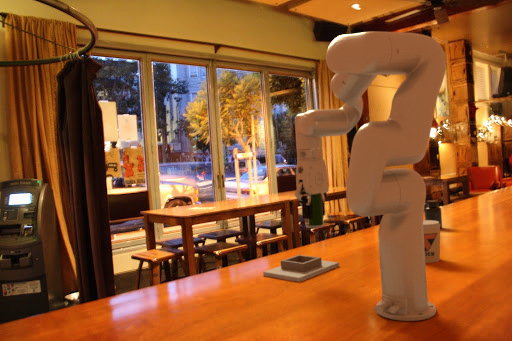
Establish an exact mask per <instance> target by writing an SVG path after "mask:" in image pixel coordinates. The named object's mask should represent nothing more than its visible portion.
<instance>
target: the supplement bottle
mask: <svg viewBox="0 0 512 341" xmlns="http://www.w3.org/2000/svg"><path fill="white" fill-rule="evenodd" d="M425 205H426V206H425V207H424V220H433V221H438V222H439V224H440V230H441V229H442V228H443V218H442V216H443V215H442V208H441V207H440V203H439V200H433V199H432V200H425Z"/></svg>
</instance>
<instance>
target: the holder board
mask: <svg viewBox="0 0 512 341" xmlns="http://www.w3.org/2000/svg"><path fill="white" fill-rule="evenodd" d="M339 266H340V263H339V262H336V261H329V260H322V257H318V256H313V255H304V254H297V255H294V256H291V257H287V258H284V259H282V260H280V265H279V266H277V267H273V268H271V269H268V270H264V271H262V272H263V274H262V275H263V277H269V278H274V279H280V280H285V281H292V282H298V283H301V282H303V281H305V280H308V279H312V278H313V277H315V276H318V275H321V274H323V273H326V272H329V271H331V270H333V269H336V268H338V267H339Z"/></svg>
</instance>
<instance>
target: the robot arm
mask: <svg viewBox="0 0 512 341" xmlns="http://www.w3.org/2000/svg"><path fill="white" fill-rule="evenodd" d="M325 62H326V66H327V67H328V69H329V71H330V72H332V73H334V75H333V77H332V78H331V81H330V89H331V92H332V93H333V95H334V96H335V97H336V98H337V99H338V100H339V101H341V102H343V105H342V106H341V107H340V108H326V109H324V108H323V109H311V110H307V111H305V112H304V113H298V114H296V115H295V116H294V117H295V118H294V125H295V126H294V130H295V143H296V144H295V146H296V157H297V158H296V159H297V161H296V167H295V168H296V169H295V171H296V172H295V182H296V185H295V186H296V190H295V192H294V197H296V199H297V200H298V201H299V204H300V206H301V216H302V219H304V220H305V219H312V205H310V201H311V195H316V194H318V193H322V207H323V217H325V215H326V211H325V209H326V208H325V202H326V197H327V194H328V193H329V190H330V189H329V178H328V171H327V170H328V169H327V164H326V161H325V159H324V152H323V138H324V137H337V136H339V137H341V136H344V135H346V134H348V133H349V132H351V130H353V128H355V126H356V125H357V124H358V122H359V121H360V119H361V117H362V114H363V110H364V100H363V95H364V93H365V92H366V91H367V89H368V88H369V87H370V86H371V85H372V83H373V81H374V80H375V79H376V78H377V76H378V75H381V76H383V75H385V76H386V75H387V76H394V75H396V76H398V75H401V76H403V75H404V76H405V78H404V79H403V81H402V82H401V83H400V84H399V86H398V88H396V91H395V92H394V94H393V98H392V100H391V107H390V111H389V112H390V113H389V115H388V119H386V120H377V121H375V120H373V121H370V122H366V123H364V124H363V125H362V126H360V128H359V129H358V130H357V132H356V133H355V135H354V137H353V140H352V145H351V151H350V157H349V164H348V172H347V180H346V185H345V186H346V189H345V191H346V192H345V196H346V197H345V199H346V202H347V205H348V207H349V209H350V211H352V213H353V214H355V215H357V216H360V217H375V216H382V215H383V216H382V218H381V220H380V223H379V227H378V231H377V232H378V235H377V236H378V251H379V254H378V255H379V269H380V282H381V300H380V301H378V302H377V303H376V304H375V306H374V311H375V313H376V314H377V315H380V316H381V317H383V318H386V319H388V320H389V319H390V320H393V321H400V322H411V321H412V322H415V321H424V320H428V319H430V318H433V317H434V316H435V315H436V312H437V308H436V306H435V304H434V303H432V302H431V301H428V300H429V299H428V287H427V286H428V285H427V283H428V282H427V272H426V271H427V270H426V263H425V250H424V231H423V220H424V215H425V205H426V197H427V186H426V183H425V181H424V178H423V177H422V175H421V174H420V173H419V172H417V171H415V170H413V169H411V168H405V167H400V168H399V166H408V165H414V164H417V163H419V162H421V161H422V160H423V159H424V157H425V155H426V154H427V153H426V152H427V149H428V145H429V140H430V136H431V130H432V125H433V120H434V115H435V110H436V104H437V100H438V97H439V93H440V91H441V87H442V86H443V81H444V79H445V73H446V69H447V68H446V67H447V59H446V54H445V52H444V49H443V47H442V46H441V44H440V43H439V41H437V40H436V39H435V38H433V37H431V36H429V35H425V34H421V33H415V32H401V31H399V32H394V31H376V30H375V31H374V30H373V31H363V32H356V33H348V34H341V35H338V36H337V37H334V39H333V40H332V41H331V42H330V44H329V45H328V48H327V49H326V54H325ZM388 167H397V168H388ZM304 192H306V193H308V194H304ZM305 197H307V200H306V198H305Z"/></svg>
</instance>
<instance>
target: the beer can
mask: <svg viewBox="0 0 512 341" xmlns="http://www.w3.org/2000/svg"><path fill="white" fill-rule="evenodd" d="M304 194H308V193H306V192H304ZM305 198H306V200H307V197H305ZM310 205H312V219H304V225H305V227H306V228H308V229H318V228H319V229H320V228H323V226H324V216H323V207H322V193H318V194H316V195H311V201H310Z"/></svg>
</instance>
